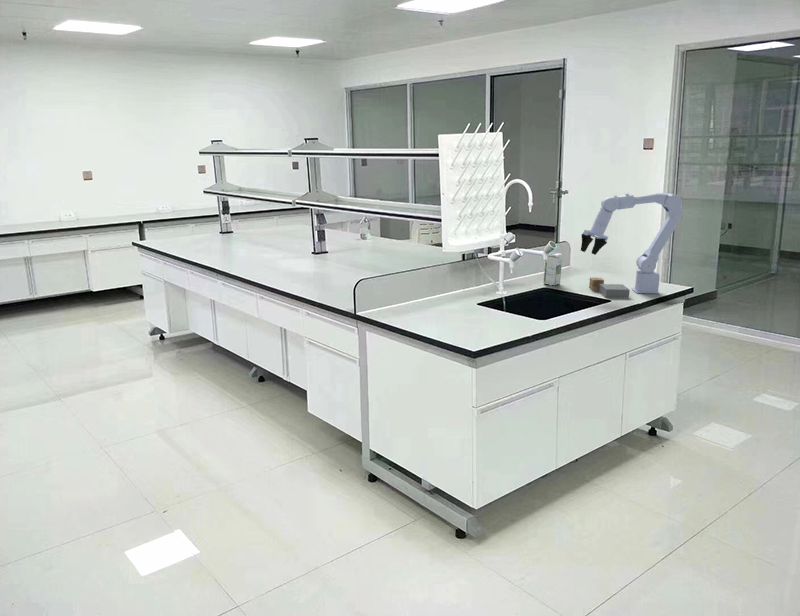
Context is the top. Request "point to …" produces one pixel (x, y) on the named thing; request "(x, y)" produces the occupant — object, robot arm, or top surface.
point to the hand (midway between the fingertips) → (588, 252)
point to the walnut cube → (595, 283)
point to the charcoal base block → (614, 290)
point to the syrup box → (553, 269)
